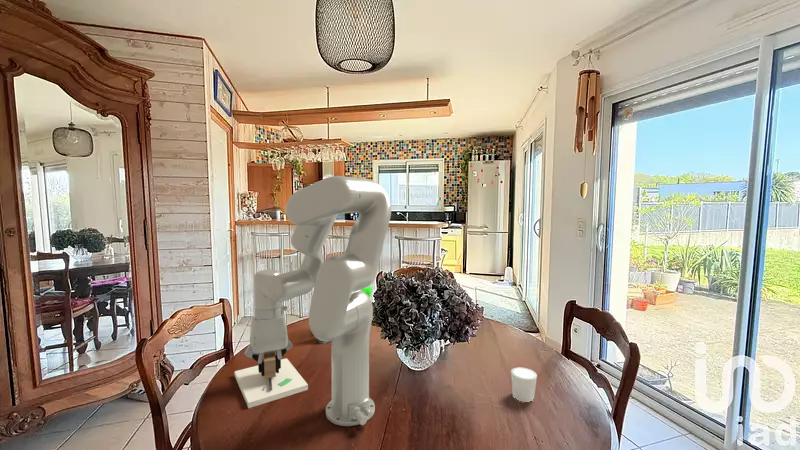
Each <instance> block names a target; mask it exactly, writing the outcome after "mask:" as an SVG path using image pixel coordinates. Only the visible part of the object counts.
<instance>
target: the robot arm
mask: <svg viewBox="0 0 800 450" xmlns="http://www.w3.org/2000/svg"><path fill="white" fill-rule="evenodd" d="M285 213H286V217H287V219H288V220H289V222H290V223H291V224H293V225H295V228H294V230H293V233H292V235H291V237H290V243H291V245H292V247H293V248H294V249H295V250H296V251H298V252H299V253H301V254H303V255H304V257H303V260H302V262H301V263H300V266H299V268H298V269H295V270H292V271H291V270H290V271H288V272H287V271H286V272H283V273H282V272H281V271H279V270H277V269H261V270H259V271H257V272H256V273H255V274H254V276H253V285H254V287H253V288H254V289H253V291H254V294H253V295H254V296H253V298H254V316H253V317H252V318H251V323H250V332H249V344H248V346H247V348H246V349H245V352H244V356H245V357H248V358H250V359H253V360H254V361H256V362H257V364H258V365H257V366H258V370H259V373H261V375H262V376H264V352H270V351H275V361H276V373H279V369H280V368H281V360H282V359H283V357H284V356H285V354H287V352H289V350H291V349H292V348H293V347H294V346H293V343H292V342H291V341H290V339H289V337H288V327H287V322H286V316H285V314H284V312H285V311H288V306H287V305H283V302H286V301H288V300H292V299H295V298H297V297H300V296H303V295H306V294H309V292H311V291H312V290H313V291H312V297H311V302H310V306H309V313H308V325H309V329H310V331H311V333H312V335H314V337H315V338H316V339H317V340H318V339H319V340H321V341H331V354H330V355H331V356H330V357H331V360H330V362H331V400H330V401H329V402H328V403H327V404H326V406H325V416H326V418H327V420H328V421H330V423H333V424H334V425H337V426H342V427H353V426H358V425H361V426H364V425H365V424H366V423H367V422H368V421H369V420H370V419H371V418H372V417H373V416H374V414H375V410H376V405H375V402H374V400H373V399H372V398H370V333H371V327H372V321H373V315H374V314H373V313H374V309H373V308H374V307H373V303H372V300H371V298H370V297H369V296H368V295H367V294H366V293H365V292H363V291H361V290H362V289H364V288H367V287H368V286H370V287H371V285H372V284H373V283H374V282H375V280H376V276H377V273H378V269H379V265H380V261H381V257H382V253H383V248H384V243H385V239H386V237H387V236H386V234H387V232H388V228H389V225H390V222H391V216H392V204H391V200H390V197H389V194H388V193H387V191H386V189H385V188H384V187H383V186H382V185H381V184H379V183H378V182H376V181H374V180H372V179H369V178H365V177H357V176H356V177H355V176H343V175H334V176H328V177H326V178H324V179H321V180H319V181H317V182H314V183H312V184H310V185H308V186H305V187H303V188H301V189H299V190H296V191H295V192H294V193H292V195H290V197H289V198H288V200H287V203H286V207H285ZM355 213H358V217H357V219H356V221H355V222H354V223H353V226H352V227H351V229H350V232H349V237H348V241H347V245H346V249H345V251H344V252H343V253H340V254H336V255H333V256H331V257H329V258H327V259H326V260H324V257H323V253H322V250H323V247H324V245H325V243H326V240H327V238H328V236H329V234H330V232H331V230H332V229H333V226H334V224H335V221H336V220H337V218H338V215H339V214H340V215H341V214H355Z"/></svg>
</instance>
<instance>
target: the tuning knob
mask: <svg viewBox="0 0 800 450" xmlns="http://www.w3.org/2000/svg"><path fill="white" fill-rule="evenodd" d="M275 356H276V350H275V351H270V352H264V353H263V361H264V375H265V379H266V378H268V379H269V391H270V390H272V380H271V378H273V377H276V361H275Z"/></svg>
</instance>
